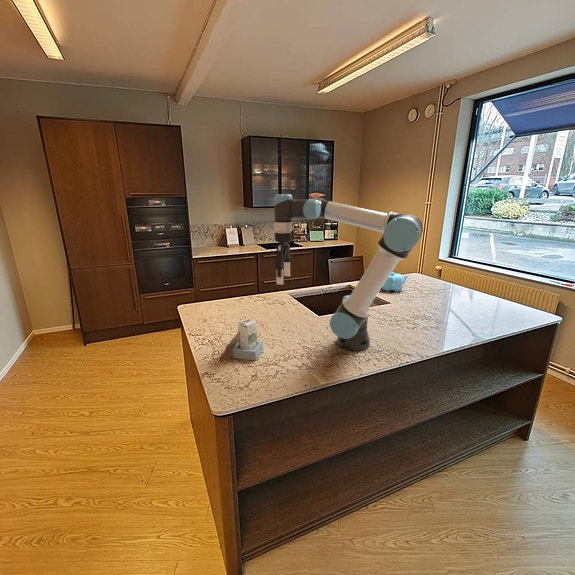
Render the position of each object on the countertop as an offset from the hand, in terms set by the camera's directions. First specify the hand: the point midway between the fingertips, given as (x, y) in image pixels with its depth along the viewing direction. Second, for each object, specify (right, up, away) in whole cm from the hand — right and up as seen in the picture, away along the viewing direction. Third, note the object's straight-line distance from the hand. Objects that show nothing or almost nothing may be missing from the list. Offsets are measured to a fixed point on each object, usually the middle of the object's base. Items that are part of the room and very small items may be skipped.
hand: (283, 280), depth 143 cm
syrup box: (-16, -32, -1) cm, 35 cm away
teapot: (+79, -6, +86) cm, 117 cm away
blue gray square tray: (-16, -33, -1) cm, 36 cm away
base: (-23, -32, 0) cm, 40 cm away
